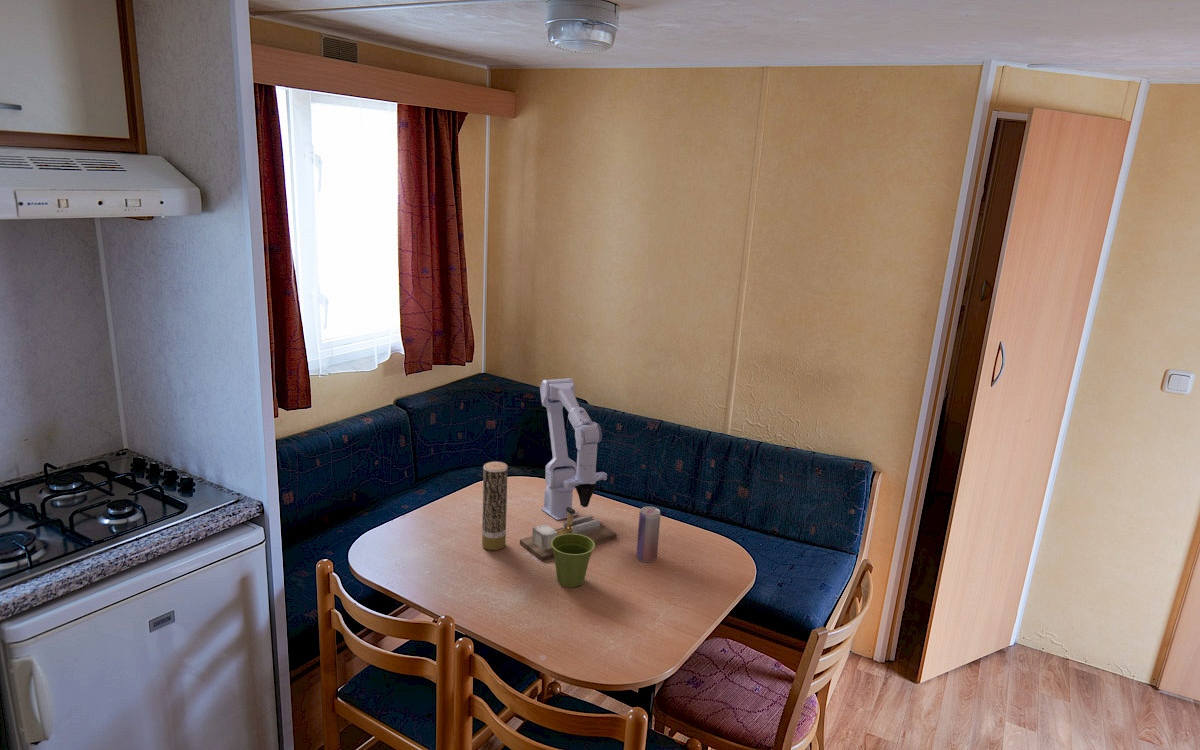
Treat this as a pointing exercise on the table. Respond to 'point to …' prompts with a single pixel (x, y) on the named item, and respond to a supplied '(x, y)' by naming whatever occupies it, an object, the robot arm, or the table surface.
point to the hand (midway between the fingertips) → (584, 505)
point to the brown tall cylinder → (494, 505)
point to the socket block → (543, 536)
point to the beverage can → (648, 534)
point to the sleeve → (584, 525)
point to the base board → (548, 554)
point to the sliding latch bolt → (569, 522)
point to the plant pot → (572, 558)
